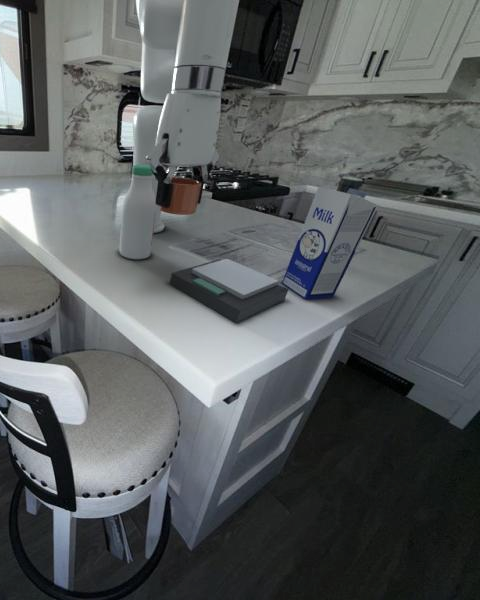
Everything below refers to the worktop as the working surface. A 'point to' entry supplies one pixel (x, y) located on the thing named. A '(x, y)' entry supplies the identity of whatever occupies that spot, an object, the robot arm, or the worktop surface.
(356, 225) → the milk carton
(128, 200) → the milk bottle
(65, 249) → the worktop surface
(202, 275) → the kitchen scale
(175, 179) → the flower pot
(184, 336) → the worktop surface
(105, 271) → the worktop surface
